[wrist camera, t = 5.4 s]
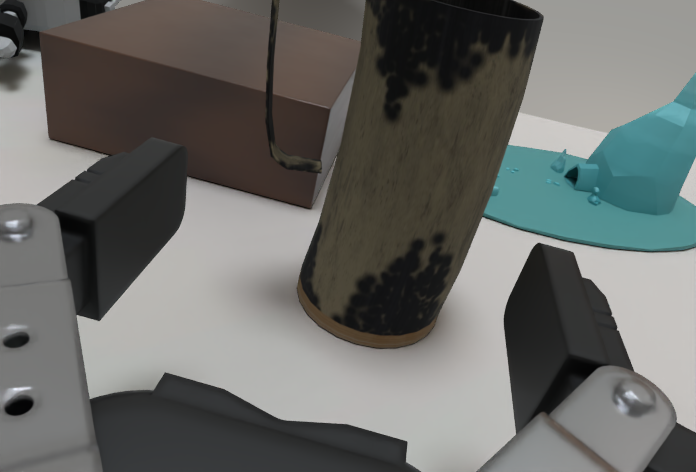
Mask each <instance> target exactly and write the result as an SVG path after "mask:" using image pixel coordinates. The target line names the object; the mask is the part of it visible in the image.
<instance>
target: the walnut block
mask: <svg viewBox="0 0 696 472" xmlns="http://www.w3.org/2000/svg"><path fill="white" fill-rule="evenodd" d="M270 19H271V18H268V17H264V16H260V15H256V14H252V13H249V12H245V11H241V10H237V9H233V8H229V7H225V6H222V5H218V4H214V3H210V2H206V1H202V0H145V1H142V2H138V3H135V4H132V5H128V6H125V7H122V8H119V9H115V10H112V11H108V12H105V13H101V14H98V15H95V16H91V17H88V18H85V19H81V20H78V21H74V22H71V23H68V24H64V25H61V26H58V27H54V28H51V29H48V30H44V31H41V32H39V37H40V48H41V59H42V70H43V80H44V91H45V102H46V112H47V123H48V134H49V138H51V139H54V140H58V141H62V142H65V143H69V144H73V145H77V146H80V147H84V148H88V149H91V150H95V151H99V152H103V153H106V154H110V155H115V154H118V153H122V152H126V153H131V152H132V151H133V150H135V149H136V148H137V147H139V146H140V145H141V144H143V143H144V142H145V141H147V140H148V139H149V138H157V139H160V140H164V141H168V142H172V143H175V144H179V145H183V146H185V147H186V149H187V152H188V165H187V175H188V176H192V177H195V178H199V179H203V180H206V181H210V182H214V183H218V184H221V185H225V186H229V187H232V188H236V189H240V190H243V191H247V192H251V193H255V194H258V195H262V196H266V197H269V198H273V199H277V200H281V201H284V202H288V203H292V204H295V205H299V206H303V207H307V208H311V207H312V205H313V203H314V201H315V199H316V197H317V195H318V193H319V191H320V188H321V186H322V184H323V182H324V180H325V178H326V176H327V174H328V172H329V170H330V168H331V166H332V163H333V161H334V159H335V157H336V155H337V153H338V151H339V148H340V144H341V140H342V135H343V130H344V125H345V120H346V116H347V111H348V106H349V101H350V96H351V91H352V86H353V81H354V76H355V71H356V67H357V62H358V57H359V52H360V46H361V41H357V40H353V39H349V38H345V37H341V36H338V35H334V34H330V33H326V32H322V31H318V30H314V29H310V28H307V27H303V26H299V25H295V24H291V23H287V22H283V21H279V20H278V21H277V32H276V43H275V54H274V74H273V101H272V118H273V126H274V135H275V143H276V145H277V146H278V147H279V148H280V149H281V150H282V151H284V152H285V153H286V154H288V155H293V156H299V157H305V158H311V159H317V160H321V162H322V173H321V174H319V173H311V172H303V171H295V170H287V169H285V168H284V167H282V166H281V165H279V164H278V163H277V162H276V161H275V160H274V159H273V158H272V157H271V155H270V149H269V142H268V136H267V129H266V123H265V108H266V72H267V55H268V43H269V31H270Z"/></svg>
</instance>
